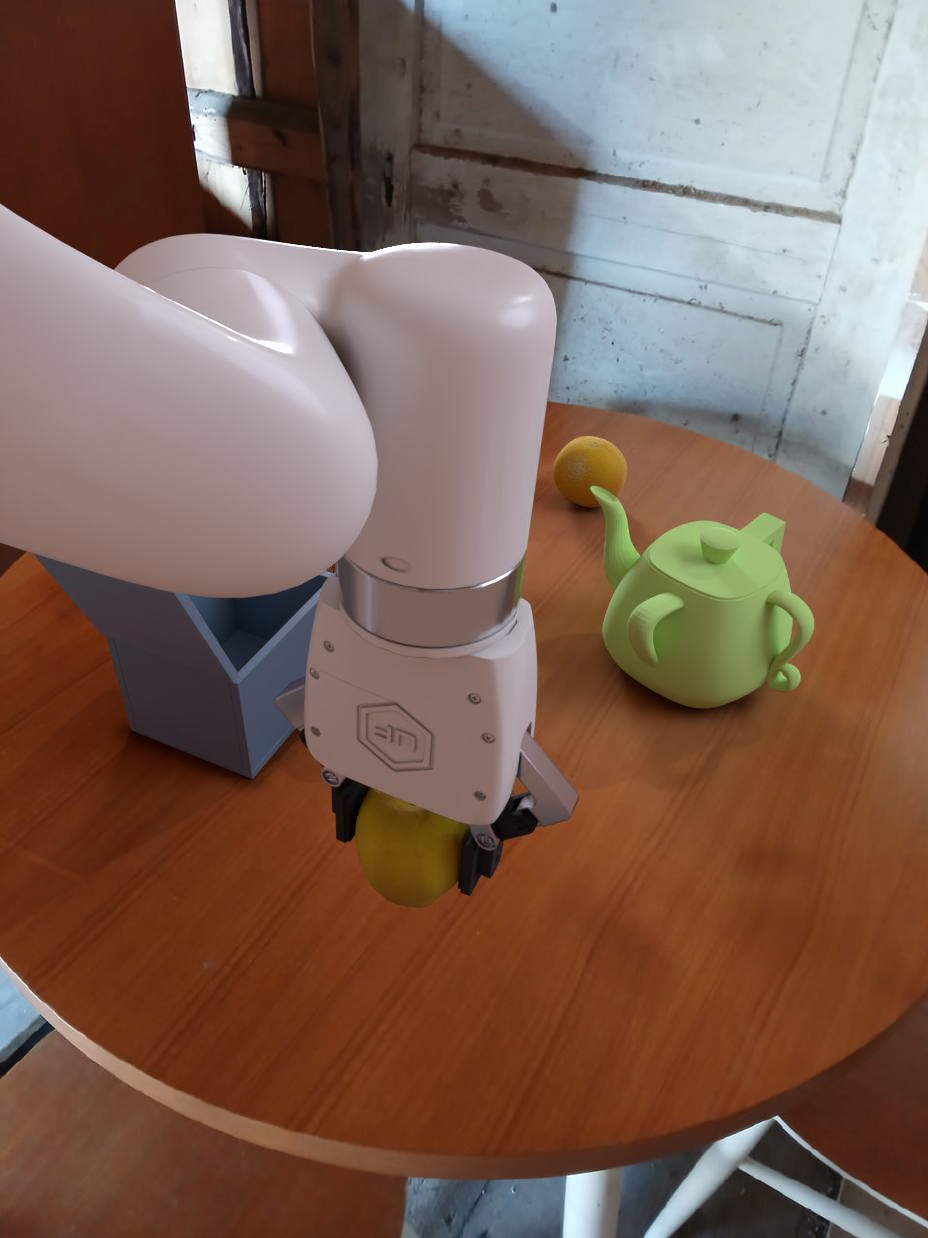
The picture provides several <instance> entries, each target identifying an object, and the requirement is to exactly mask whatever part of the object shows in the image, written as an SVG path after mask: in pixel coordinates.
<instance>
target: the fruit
mask: <svg viewBox="0 0 928 1238" xmlns="http://www.w3.org/2000/svg"><path fill="white" fill-rule="evenodd" d="M552 473H553V480H554V483H555V486H556V488H557V490H558V492H559V494H561V495H562V496H563V497H564V498H565V499H566V500H567V501H569V502H571V503H572V504H575V505H578V506H581V507H583V508H599V507H601V505H600V504H599V502H598V501H597V499H596V498H595V496H594V495H593V494H592V492H591V490H590V487H591V486H598V487H601V488H603V489H605V490H607V491H608V492H610V493H611V494H613V495H614V496H615V497H616V498H617V497H618V496H619V495H620V493H621V491H622V489H623V488H624V486H625V483H626V480H627V475H628V465H627V461H626V459H625V456H624V454H623V453H622V452H621V450H620V449H618V447H617V446H615V444H614V443H612V442H610V441H608V440H606V439H604V438H601V437H598V436H594V435H593V436H592V435H585V436H584V435H583V436H578V437H576V438H574V439H572V440H570V441H569V442H568V443H567V444H566V445H565V446H563V448H562V449H561V450H560V452H559V453H558V454H557V456H556V457H555V460H554V463H553V467H552Z"/></svg>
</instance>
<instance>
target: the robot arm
mask: <svg viewBox="0 0 928 1238" xmlns="http://www.w3.org/2000/svg"><path fill="white" fill-rule="evenodd" d="M556 307H557V306H556V303H555V299H554V295H553V293H552V291H551V289H550V287H549V285H548V283H547V282H546V281H545V279H544V278H543V277H542V276H541V275H540V274H539V273H538V272H537V271H536V270H534V269H533V268H532V267H531V266H530V265H528V264H526V263H525V262H523V261H521V260H518V259H516V258H513V257H512V256H510V255H507V254H503V253H500V252H499V251H494V250H491V249H486V248H483V247H478V246H471V245H464V244H457V243H445V242H440V243H439V242H422V243H419V242H418V243H410V244H409V243H407V244H401V245H395V246H392V247H391V246H390V247H386V248H383V249H382V248H381V249H379V250H375V251H372V252H361V251H348V250H339V249H338V250H337V249H330V248H321V247H314V246H313V247H312V246H306V245H298V244H291V243H286V242H278V241H272V240H265V239H258V238H252V237H245V236H237V235H229V234H221V233H219V234H218V233H189V234H188V233H187V234H179V235H173V236H168V237H165V238H160V239H158V240H155V241H153V242H152V241H151V242H150V243H147V244H145V245H143V246H141V247H139V248H137V249H136V250H134V251H133V252H131V253H130V254H128V255H127V256H126V257H125V258H123V260H121V261H120V263H118V265H117V266H116V267H115V268H114V269H112V268H110V267H108V266H106V265H104V264H103V263H101V262H99V261H98V260H96V259H94V258H92V257H91V256H88V255H86V254H84V252H81V251H79V250H77V249H76V248H74V247H72V246H71V245H69V244H67V243H65V242H63V241H61V239H60V240H59V239H58V238H56V237H54V236H53V235H51V234H50V233H48V232H46V231H45V230H43V229H41V228H40V227H38V226H36V225H35V224H33V223H31V222H30V221H28V220H26V219H25V218H23V217H22V216H20V215H18V214H16V213H15V212H14V211H12V210H10V209H9V208H8V207H6V206H4V205H3V204H1V203H0V544H3V545H6V546H9V547H12V548H15V549H19V550H21V551H25V552H28V553H31V554H33V553H34V554H37V555H41V556H44V557H47V558H50V559H54V560H57V561H60V562H63V563H67V564H70V565H73V566H76V567H80V568H83V569H86V570H89V571H92V572H96V573H99V574H102V575H106V576H109V577H113V578H117V579H120V580H124V581H127V582H131V583H135V584H139V585H143V586H147V587H151V588H155V589H159V590H163V591H168V592H174V593H181V594H188V595H196V596H203V597H212V598H246V597H254V596H260V595H267V594H274V593H278V592H281V591H284V590H287V589H290V588H293V587H296V586H299V585H301V584H303V583H305V582H306V581H308V580H310V579H312V578H314V577H316V576H318V575H319V574H321V573H323V572H325V571H328V569H329V568H331V567H332V566H333V565H334V566H335V567H334V568H335V570H334V572H333V573H334V574H332V575H331V576H330V577H329V578H328V579H327V580H326V581H325V582H324V584H323V586H322V588H321V592H320V596H319V599H318V603H317V608H316V612H315V617H314V622H313V627H312V633H311V638H310V644H309V651H308V659H307V668H306V676H304V677H302V678H300V679H298V680H295V681H293V682H291V683H289V684H288V685H287V686H286V687H285V689H284V690H283V691H282V692H281V693H280V694H279V695H278V696H277V697H276V698H275V705H276V706H277V708H278V709H279V710H280V711H281V713H282V714H283V715H284V716H285V717H286V719H287V720H288V721H289V722H290V723H291V725H292V726H293V727H294V728H295V729H294V730H298V731H299V734H298V736H299V737H298V738H299V740H300V742H301V743H302V744H303V746H304V747H305V748H306V749H307V750H308V751H309V753H310V755H311V756H312V757H313V758H314V760H316V761H317V762H318V763H319V764H320V765H321V767H322V769H321V770H320V772H319V776H320V778H321V780H322V781H323V782H324V784H326V785H327V786H328V787H330V790H331V812H332V813H333V814H335V816H334V817H335V839H336V840H337V841H339V842H342V843H344V844H346V843H350V842H352V841H353V839H354V838H355V831H356V821H357V816H358V811H359V808H360V806H361V803H362V801H363V800H364V798H365V796H366V794H367V793H368V791H369V790H370V788H371V787H372V788H374V789H376V790H379V791H381V792H384V793H386V794H388V795H391V796H393V797H396V798H398V799H401V800H403V801H406V802H408V803H411V804H413V805H416V806H418V807H421V808H424V809H426V810H429V811H431V812H434V813H436V814H439V815H442V816H444V817H447V818H450V819H452V820H455V821H459V822H462V823H466V824H468V826H469V828H470V832H469V834H468V835H467V837H466V839H465V841H464V843H463V846H462V852H461V861H460V870H459V880H458V882H457V889H458V890H459V893H461V894H463V895H465V896H468V897H471V895H472V894H473V892H474V890H475V888H476V887H477V884H478V883H479V881H480V880H481V877H482V876H483V877H485V878H488V879H492V877H493V876H494V874H495V872H496V870H497V868H498V867H499V864H500V862H501V858H502V854H503V849H504V843H505V841H508V840H512V839H515V838H520V837H523V836H528V835H530V834H533V833H534V832H535V830H536V829H537V828H539V827H542V828H545V827H549V826H552V825H557V824H560V823H564V822H567V821H569V820H570V819H571V817H572V816H573V814H574V812H575V808H576V807H577V805H578V803H579V800H580V794H579V793H578V791H577V790H576V789H575V788H574V786H573V785H572V784H571V782H570V781H569V779H567V778H566V777H565V776H564V774H563V773H562V771H560V769H559V767H557V765H556V764H555V763H554V762H553V761H552V759H551V758H550V757H549V756H548V755H547V753H546V752H545V750H544V749H543V748H542V747H541V746H540V745H539V743H538V742H537V741H536V740H535V738H534V735H535V727H536V715H537V714H536V713H537V699H538V698H537V697H538V654H537V652H538V651H537V641H536V632H535V630H536V629H535V622H534V617H533V611H532V610H533V609H532V606H531V604H530V602H529V601H527V600H525V598H523V597H522V596H521V595H522V588H523V582H524V574H525V566H526V560H527V551H528V543H529V542H528V541H529V537H530V536H529V535H530V529H531V520H532V515H533V514H532V513H533V507H534V498H535V492H536V483H537V477H538V476H537V475H538V470H539V462H540V456H541V448H542V440H543V433H544V426H545V421H546V420H545V419H546V411H547V405H548V404H547V403H548V397H549V392H550V391H549V390H550V383H551V377H552V376H551V375H552V369H553V361H554V354H555V348H556V347H555V346H556V335H557V325H558V317H557V316H558V315H557V309H556ZM34 554H33V555H34ZM516 778H517V779H518V781H519V782H520V783H521V784H522V786H524V788H525V789H526V790H527V791H525V792H522V793H519V794H516V795H515V793H514V790H513V788H514V785H515V781H516Z"/></svg>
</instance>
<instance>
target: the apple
mask: <svg viewBox="0 0 928 1238" xmlns="http://www.w3.org/2000/svg"><path fill="white" fill-rule="evenodd" d="M469 832H470V828H469V826H468V824H466V823H462V822H459V821H455V820H452V819H450V818H447V817H444V816H442V815H439V814H436V813H434V812H431V811H429V810H426V809H424V808H421V807H418V806H416V805H413V804H411V803H408V802H406V801H403V800H401V799H398V798H396V797H393V796H391V795H388V794H386V793H384V792H381V791H379V790H376V789H374V788H372V787H371V788H370V790H369V791H368V793H367V794H366V796H365V798H364V800H363V801H362V803H361V806H360V808H359V811H358V816H357V821H356V831H355V836H354V838H355V845H356V851H357V854H358V858H359V861H360V864H361V866H362V869H363V872H364V875H365V877H366V878H367V880H368V882H369V883H370V885H371V886H372V887H373V889H375V891H376V892H377V893H378V894H379V895H380V896H382V897H383V898H384V899H385V900H387V901H388V902H389V903H390V902H391V903H393V904H395V905H398V906H404V907H411V908H418V909H422V908H427V907H429V906H431V905H433V904H435V903H436V902H438V901H440V900H441V899H442V898H443V897H445V895H446V894H447V893H448V892H449V891H451V890H452V889H453V888H454V887H456V885H458V880H459V870H460V861H461V852H462V846H463V843H464V841H465V839H466V837H467V835H468V834H469Z"/></svg>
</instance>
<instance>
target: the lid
mask: <svg viewBox="0 0 928 1238" xmlns="http://www.w3.org/2000/svg"><path fill="white" fill-rule="evenodd" d="M32 554H33V556H34V557H35V558H36V559H37V561H38V562H39V563H40V564H41V565H42V566H43V567H44V569H45V570H46V571H47V572H48V573H49V575H50V576H51V577H52V579H54V581H55V582H56V583H57V584H58V585H59V587H60V588H61V589H62V590H63V591H64V593H65V594H66V595H67V596H68V597H69V598H70V599H71V601H72V602H73V603H74V604H75V605H76V607H77V608H78V609H79V610H80V611H81V613H82V614H83V615H84V616H85V617H86V619H87V620H88V621H89V622H90V623H91V624H92V625H93V627H94V628H95V630H96V631H97V632H98V633H99V634H100V635H101V636H104V637H105V638H106V637H109V638H111V639H114V640H117V641H120V642H122V643H125V644H128V645H130V646H133V647H136V648H138V649H141V650H144V651H147V652H149V653H152V654H155V655H157V656H160V657H163V658H166V659H168V660H171V661H174V662H176V663H179V664H182V665H184V666H187V667H190V668H193V669H195V670H198V671H201V672H203V673H206V674H209V675H211V676H214V677H217V678H220V679H222V680H225V681H228V682H230V683H233V684H234V683H235V682H236V680H237V679H238V677H239V674H238V673H237V671H236V669H235V668H234V666H233V665H232V663H231V662H230V660H229V659H228V657H227V655H226V654H225V652H224V651H223V649H222V648H221V646H220V645H219V643H218V641H217V640H216V638H215V637H214V635H213V634H212V632H211V631H210V629H209V628H208V626H207V624H206V623H205V621H204V620H203V618H202V617H201V615H200V614H199V612H198V610H197V609H196V607H195V606H194V604H193V603H192V601H191V600H190V598H189V596H188V595H187V594H181V593H174V592H168V591H163V590H159V589H155V588H151V587H147V586H143V585H139V584H135V583H131V582H127V581H124V580H120V579H117V578H113V577H109V576H106V575H102V574H99V573H96V572H92V571H89V570H86V569H83V568H80V567H76V566H73V565H70V564H67V563H63V562H60V561H57V560H54V559H50V558H47V557H44V556H41V555H37V554H34V553H32Z"/></svg>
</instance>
